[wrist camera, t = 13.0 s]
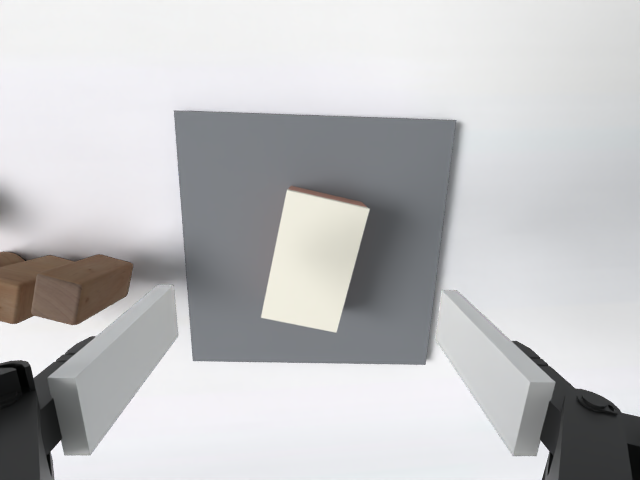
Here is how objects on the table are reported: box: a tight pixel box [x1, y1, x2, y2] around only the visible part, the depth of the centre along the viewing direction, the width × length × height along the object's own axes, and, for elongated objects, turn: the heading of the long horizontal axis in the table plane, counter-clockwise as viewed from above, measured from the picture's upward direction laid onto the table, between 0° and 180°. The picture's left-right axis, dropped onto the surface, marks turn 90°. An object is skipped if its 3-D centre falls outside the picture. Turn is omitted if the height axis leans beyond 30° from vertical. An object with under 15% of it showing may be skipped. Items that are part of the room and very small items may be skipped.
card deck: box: [261, 186, 370, 333], centre depth 26 cm, size 6×10×4 cm, turn 167°
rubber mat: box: [174, 111, 456, 365], centre depth 28 cm, size 22×22×1 cm
